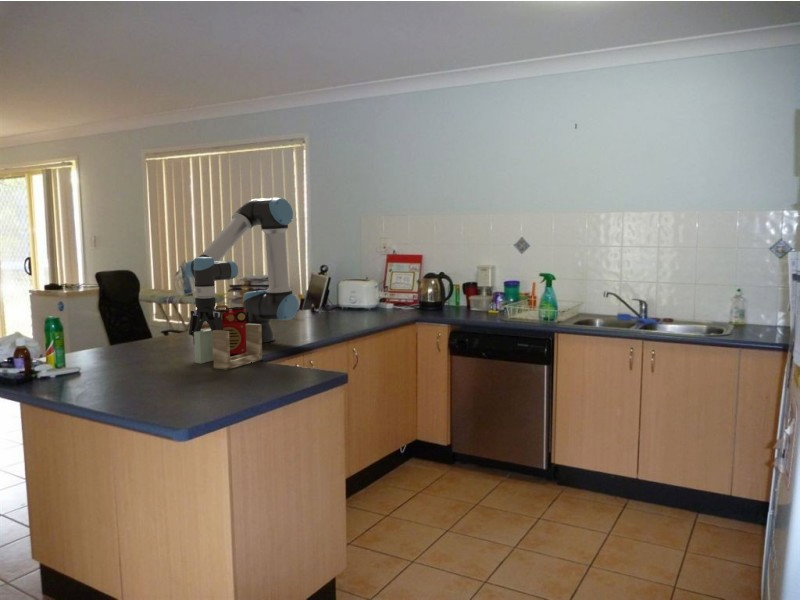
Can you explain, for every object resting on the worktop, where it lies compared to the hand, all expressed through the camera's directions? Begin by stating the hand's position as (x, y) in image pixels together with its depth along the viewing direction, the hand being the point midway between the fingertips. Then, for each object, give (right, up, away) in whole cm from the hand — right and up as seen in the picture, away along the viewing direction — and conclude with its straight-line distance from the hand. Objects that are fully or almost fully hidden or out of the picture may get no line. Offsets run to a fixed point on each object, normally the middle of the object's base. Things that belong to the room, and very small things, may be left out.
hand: (207, 354), depth 245 cm
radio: (+5, -1, +14) cm, 15 cm away
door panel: (0, -3, 0) cm, 3 cm away
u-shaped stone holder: (+14, -3, -6) cm, 15 cm away
